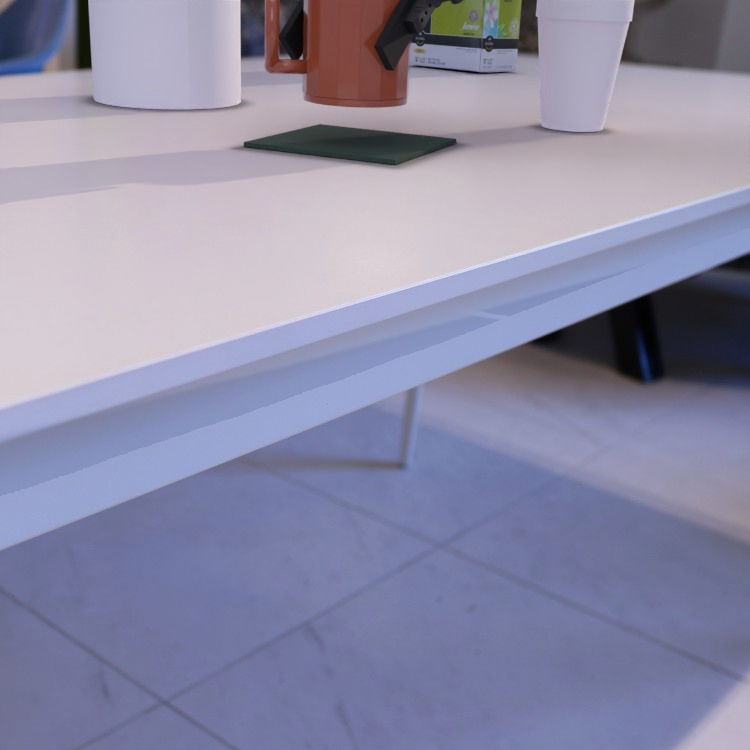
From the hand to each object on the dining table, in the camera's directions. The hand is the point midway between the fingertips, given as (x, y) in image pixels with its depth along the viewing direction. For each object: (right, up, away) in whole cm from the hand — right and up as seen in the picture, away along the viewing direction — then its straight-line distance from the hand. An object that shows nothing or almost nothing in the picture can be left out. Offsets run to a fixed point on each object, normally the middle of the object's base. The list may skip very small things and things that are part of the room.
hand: (334, 53), depth 87 cm
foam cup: (+24, -1, +22) cm, 32 cm away
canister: (-20, +4, +29) cm, 35 cm away
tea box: (+17, +23, +83) cm, 88 cm away
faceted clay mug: (0, -3, +3) cm, 5 cm away
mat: (+2, -6, +5) cm, 8 cm away
